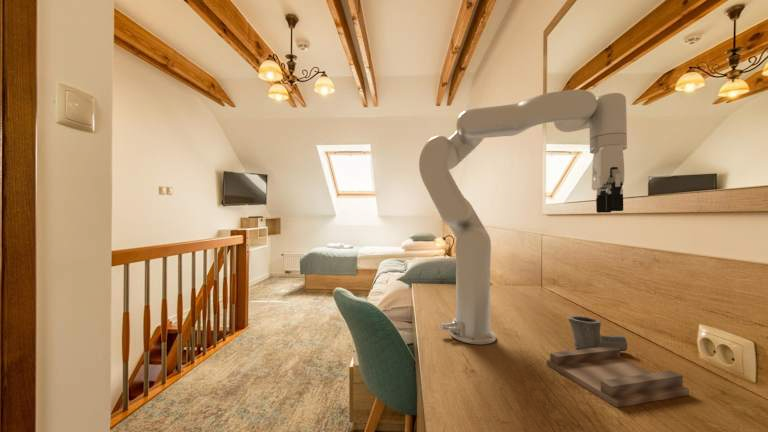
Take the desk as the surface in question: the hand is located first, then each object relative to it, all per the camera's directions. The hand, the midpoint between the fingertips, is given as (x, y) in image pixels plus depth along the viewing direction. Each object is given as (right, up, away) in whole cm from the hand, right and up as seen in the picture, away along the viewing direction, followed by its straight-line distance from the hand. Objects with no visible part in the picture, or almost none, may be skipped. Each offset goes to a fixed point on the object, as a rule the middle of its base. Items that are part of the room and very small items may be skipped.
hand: (608, 211), depth 73 cm
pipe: (-1, -36, +2) cm, 37 cm away
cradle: (-8, -36, -12) cm, 39 cm away
